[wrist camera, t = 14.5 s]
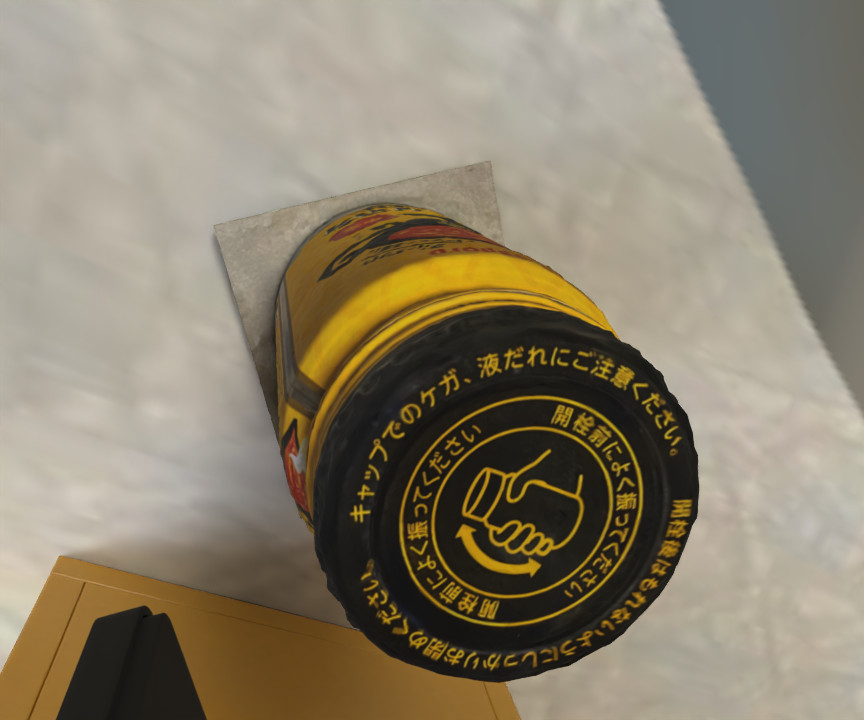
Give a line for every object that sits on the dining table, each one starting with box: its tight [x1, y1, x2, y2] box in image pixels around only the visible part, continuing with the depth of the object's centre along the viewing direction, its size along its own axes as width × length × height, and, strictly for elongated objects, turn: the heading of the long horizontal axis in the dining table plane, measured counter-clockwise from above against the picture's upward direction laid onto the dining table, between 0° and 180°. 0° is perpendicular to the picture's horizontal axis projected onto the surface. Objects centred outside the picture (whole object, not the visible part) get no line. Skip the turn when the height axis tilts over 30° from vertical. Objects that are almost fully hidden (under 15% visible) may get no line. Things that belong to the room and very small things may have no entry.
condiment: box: [214, 161, 699, 683], centre depth 16 cm, size 7×8×12 cm
